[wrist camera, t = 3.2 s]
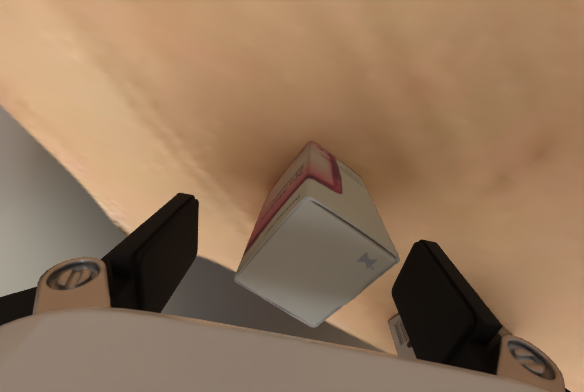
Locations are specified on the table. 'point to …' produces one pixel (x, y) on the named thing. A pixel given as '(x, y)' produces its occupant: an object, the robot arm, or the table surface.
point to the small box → (316, 239)
